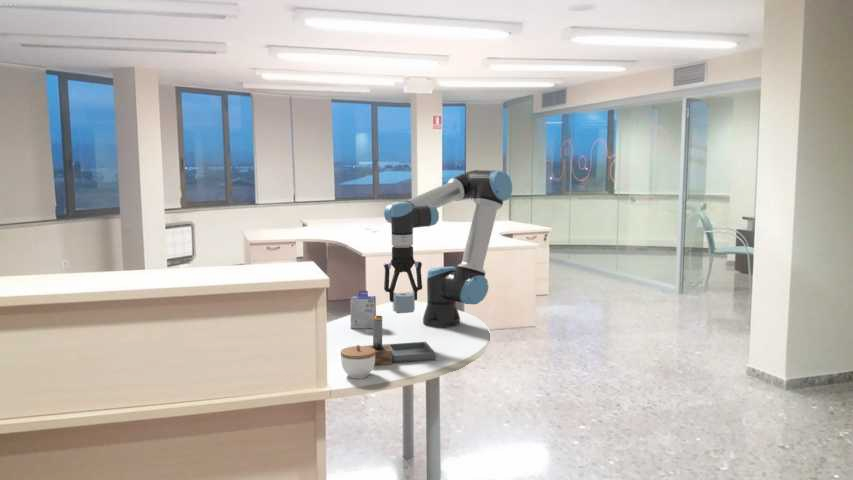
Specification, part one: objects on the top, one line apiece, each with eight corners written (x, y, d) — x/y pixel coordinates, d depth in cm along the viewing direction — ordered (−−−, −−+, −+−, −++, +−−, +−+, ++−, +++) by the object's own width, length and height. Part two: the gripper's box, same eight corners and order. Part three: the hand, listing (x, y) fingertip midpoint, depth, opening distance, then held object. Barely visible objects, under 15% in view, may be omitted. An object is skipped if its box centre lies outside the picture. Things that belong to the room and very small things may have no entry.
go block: (387, 357, 219) (387, 344, 218) (391, 364, 211) (391, 350, 211) (363, 358, 217) (363, 345, 217) (367, 366, 209) (367, 352, 209)
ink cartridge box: (376, 325, 262) (376, 290, 260) (375, 328, 256) (375, 292, 255) (351, 325, 262) (351, 290, 260) (350, 328, 256) (350, 292, 254)
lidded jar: (377, 369, 206) (377, 340, 205) (373, 381, 195) (373, 350, 194) (343, 369, 206) (343, 340, 205) (338, 380, 196) (338, 350, 194)
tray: (425, 348, 229) (425, 341, 229) (435, 360, 216) (435, 352, 215) (386, 351, 226) (386, 344, 226) (394, 363, 212) (394, 355, 212)
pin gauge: (381, 356, 216) (381, 315, 214) (383, 359, 213) (383, 317, 211) (372, 357, 215) (372, 315, 214) (373, 359, 212) (373, 318, 211)
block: (410, 308, 236) (409, 292, 235) (413, 312, 230) (413, 295, 229) (393, 309, 234) (393, 293, 234) (397, 313, 229) (396, 296, 228)
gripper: (377, 248, 223) (379, 314, 226) (431, 246, 228) (431, 310, 231) (374, 245, 230) (375, 309, 234) (426, 243, 235) (426, 305, 238)
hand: (403, 309), depth 232 cm, fingers closed on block, 6 cm apart
